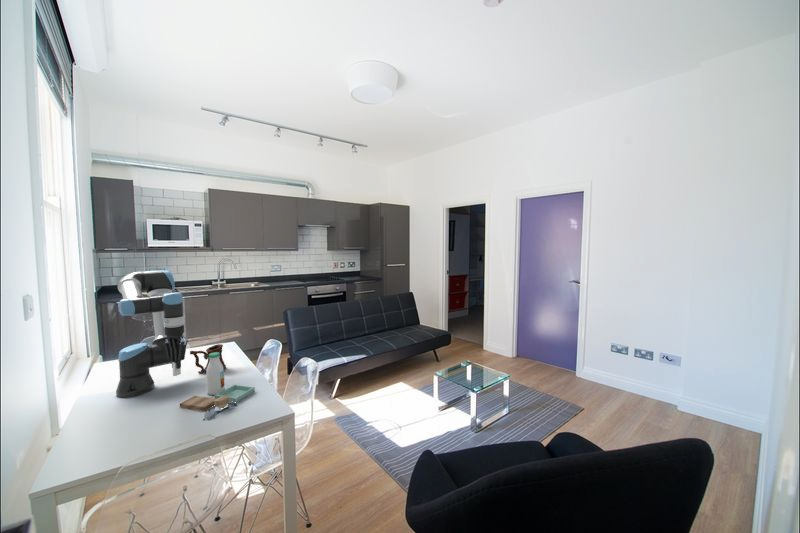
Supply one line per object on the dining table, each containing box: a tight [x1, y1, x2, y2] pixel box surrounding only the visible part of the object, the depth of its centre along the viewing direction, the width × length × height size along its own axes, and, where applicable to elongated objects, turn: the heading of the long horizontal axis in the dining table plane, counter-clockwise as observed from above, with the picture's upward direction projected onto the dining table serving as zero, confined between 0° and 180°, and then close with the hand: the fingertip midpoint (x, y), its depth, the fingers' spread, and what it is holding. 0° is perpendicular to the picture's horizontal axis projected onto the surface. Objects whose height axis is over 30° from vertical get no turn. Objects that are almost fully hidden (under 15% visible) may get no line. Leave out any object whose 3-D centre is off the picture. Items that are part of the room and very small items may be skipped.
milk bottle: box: [205, 352, 225, 396], centre depth 160 cm, size 8×8×20 cm
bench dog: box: [214, 396, 230, 408], centre depth 144 cm, size 3×5×5 cm, turn 164°
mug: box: [189, 343, 227, 374], centre depth 187 cm, size 18×12×15 cm, turn 129°
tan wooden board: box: [179, 395, 216, 412], centre depth 147 cm, size 14×8×2 cm, turn 76°
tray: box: [214, 384, 256, 404], centre depth 156 cm, size 12×12×2 cm
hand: (176, 374), depth 150 cm, fingers closed
